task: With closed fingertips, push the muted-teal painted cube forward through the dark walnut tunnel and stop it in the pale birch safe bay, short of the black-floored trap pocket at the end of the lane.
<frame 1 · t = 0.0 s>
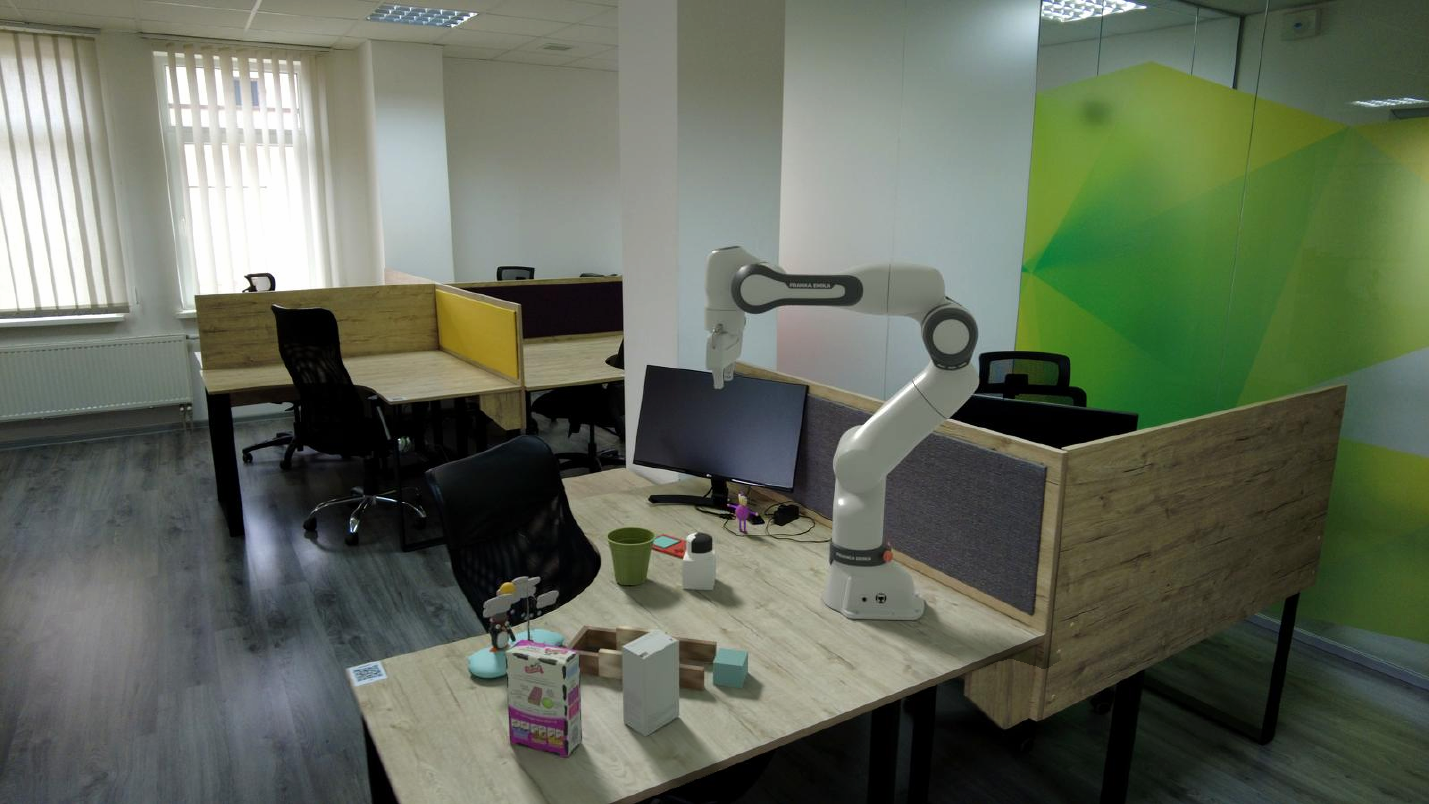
hand: (723, 384, 188), 48 cm above the table, fingers open, 8 cm apart
candy bar box: (546, 743, 139), on the table
penguin figurine: (516, 659, 165), on the table
skincare box: (651, 722, 145), on the table
plant pot: (631, 580, 201), on the table
teal block: (730, 678, 159), on the table
medicine bottle: (699, 584, 199), on the table
handheld gaming console: (673, 549, 221), on the table
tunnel: (638, 665, 163), on the table
wizard figurine: (741, 533, 232), on the table
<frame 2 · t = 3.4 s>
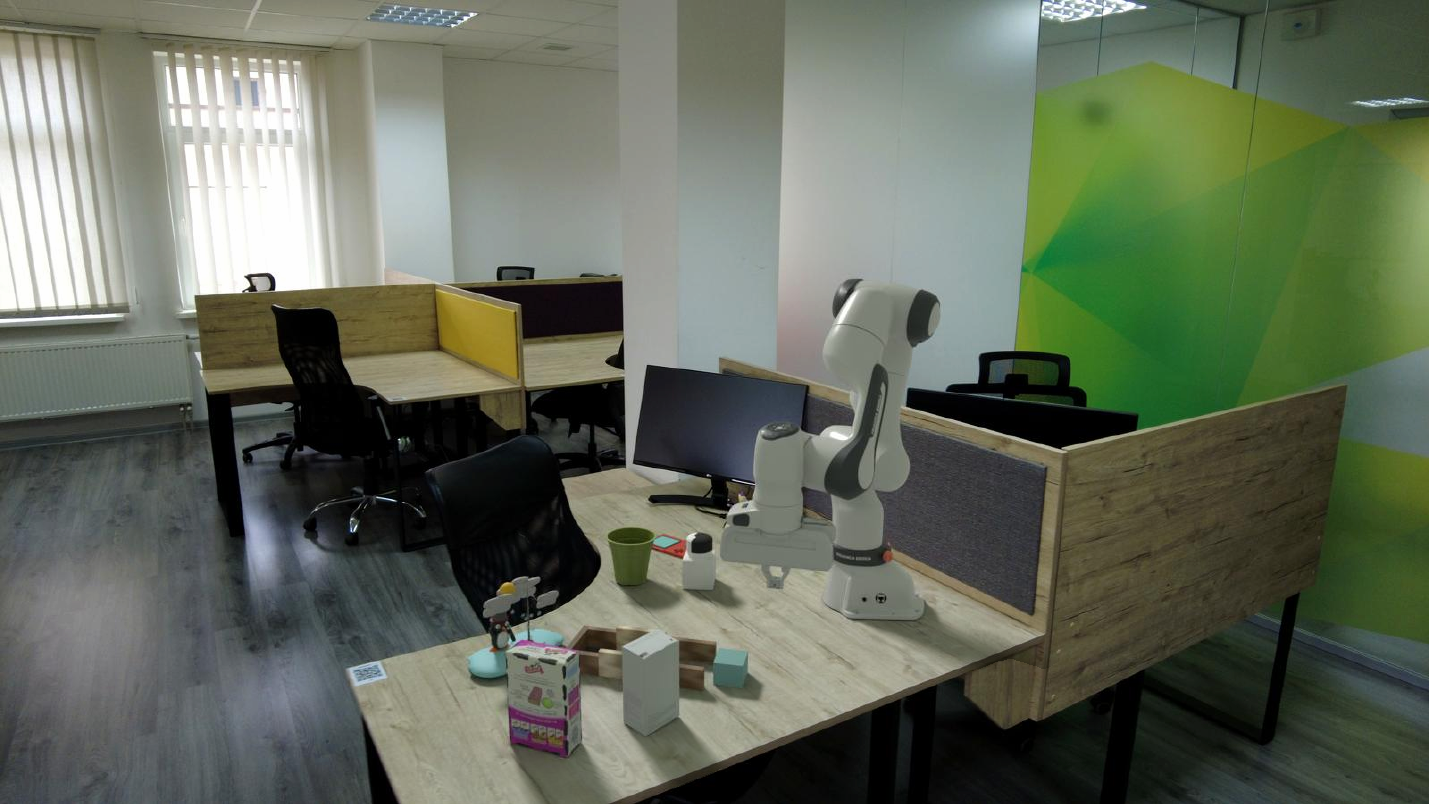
hand: (775, 587, 153), 19 cm above the table, fingers closed
nothing on the table moved.
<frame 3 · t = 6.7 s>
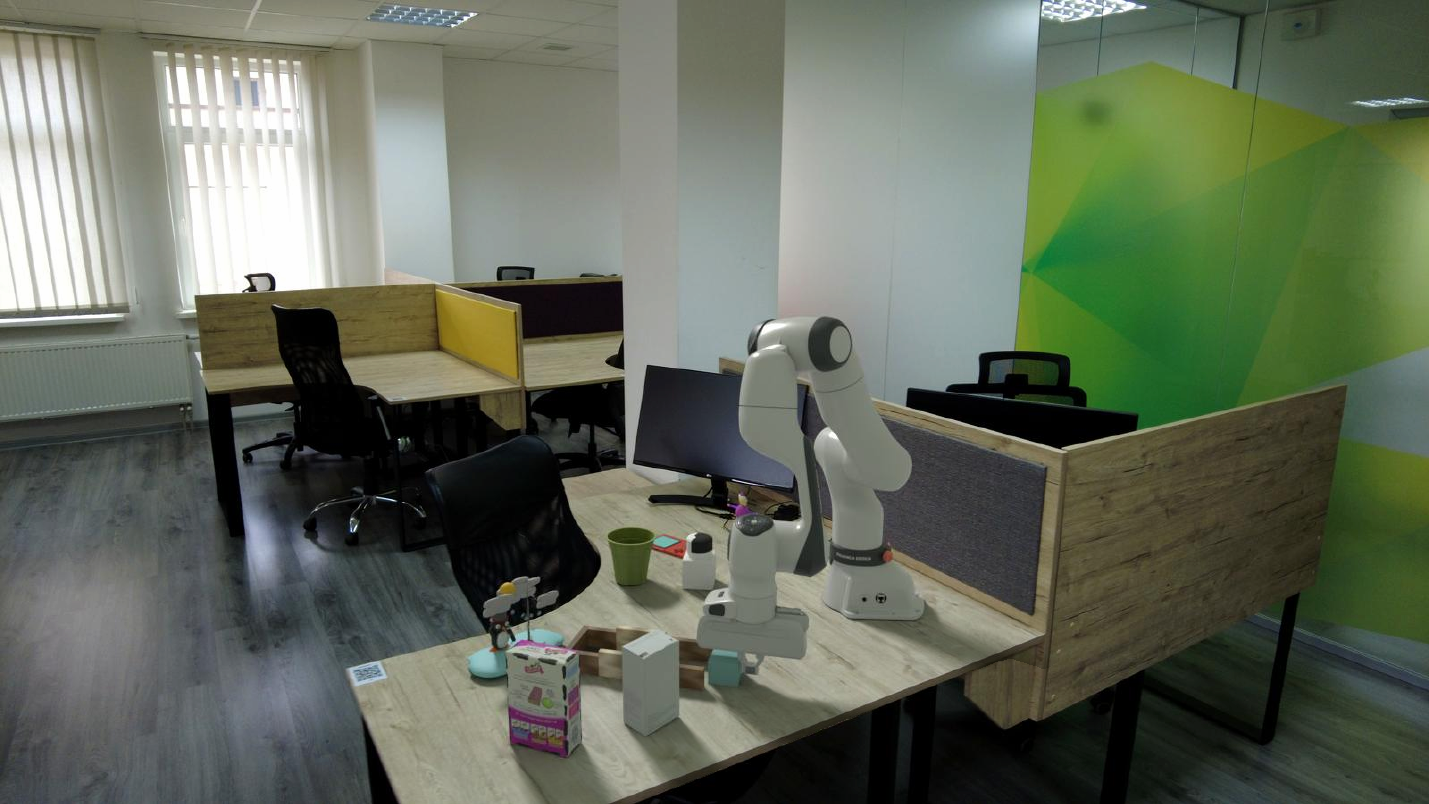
hand: (750, 672, 157), 2 cm above the table, fingers closed
teal block: (725, 677, 159), on the table, touching gripper
everything else where it was.
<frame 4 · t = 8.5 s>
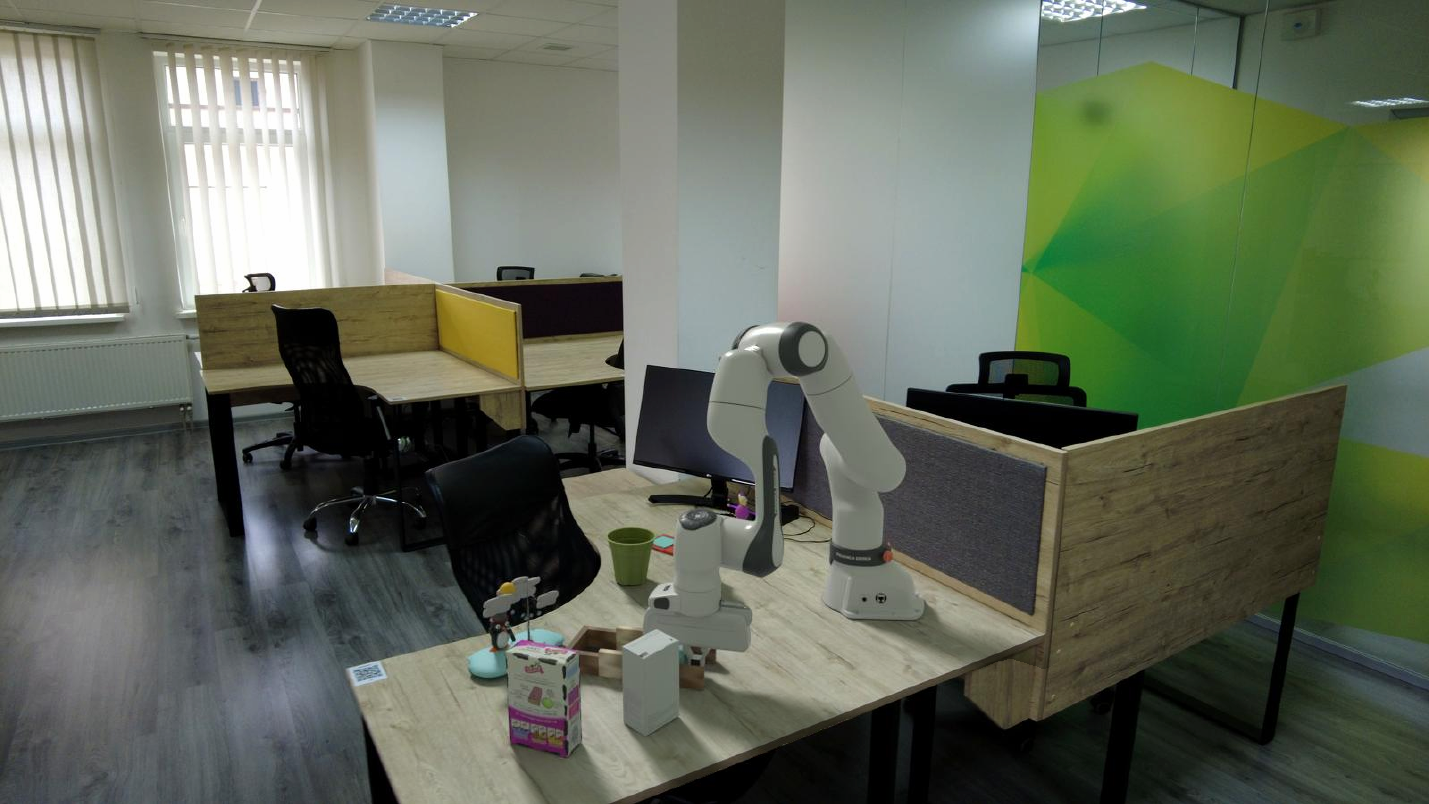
hand: (696, 665, 159), 2 cm above the table, fingers closed
teal block: (672, 670, 161), resting in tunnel, touching gripper
everything else where it was.
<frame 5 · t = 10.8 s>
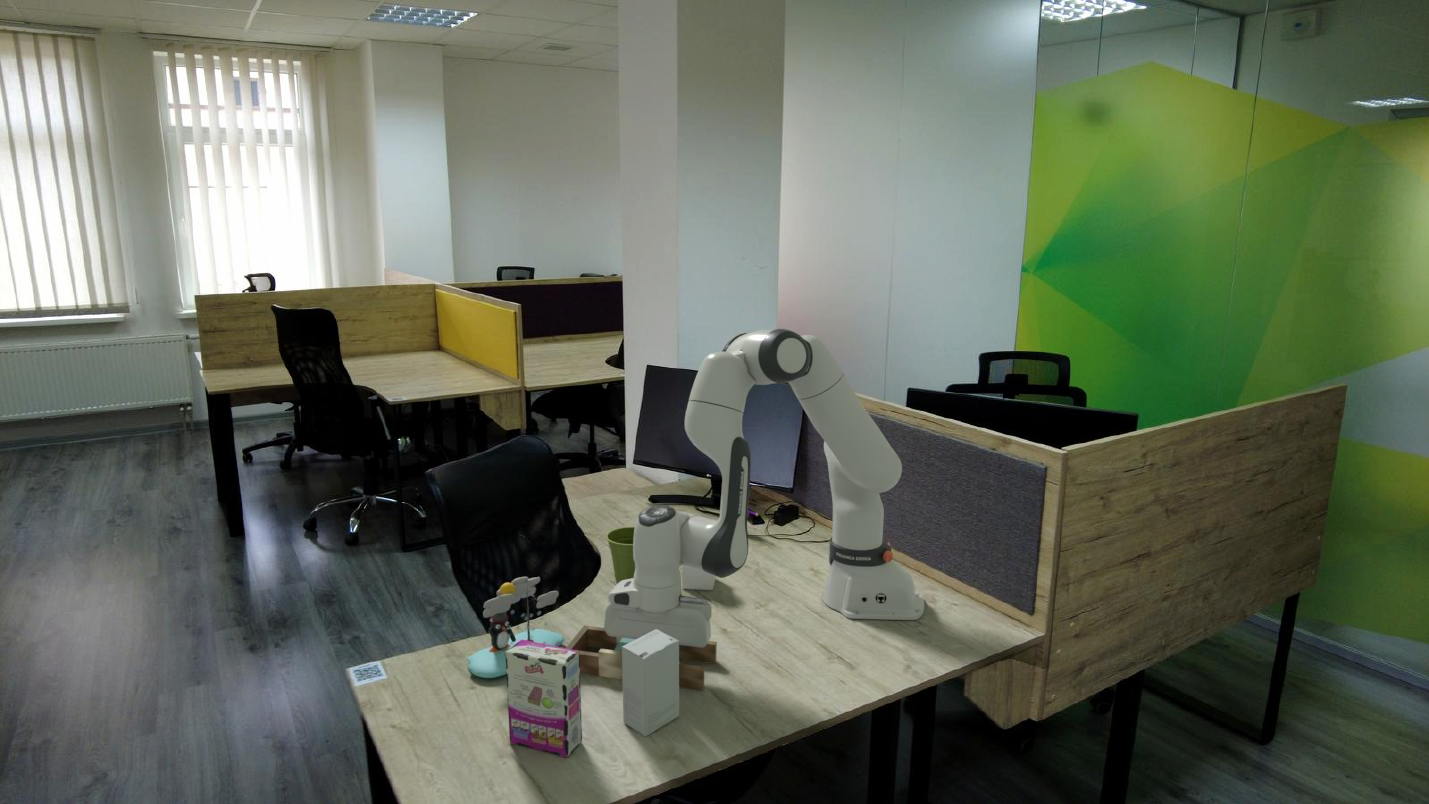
hand: (657, 660, 161), 2 cm above the table, fingers closed
teal block: (633, 665, 163), resting in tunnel, touching gripper
everything else where it was.
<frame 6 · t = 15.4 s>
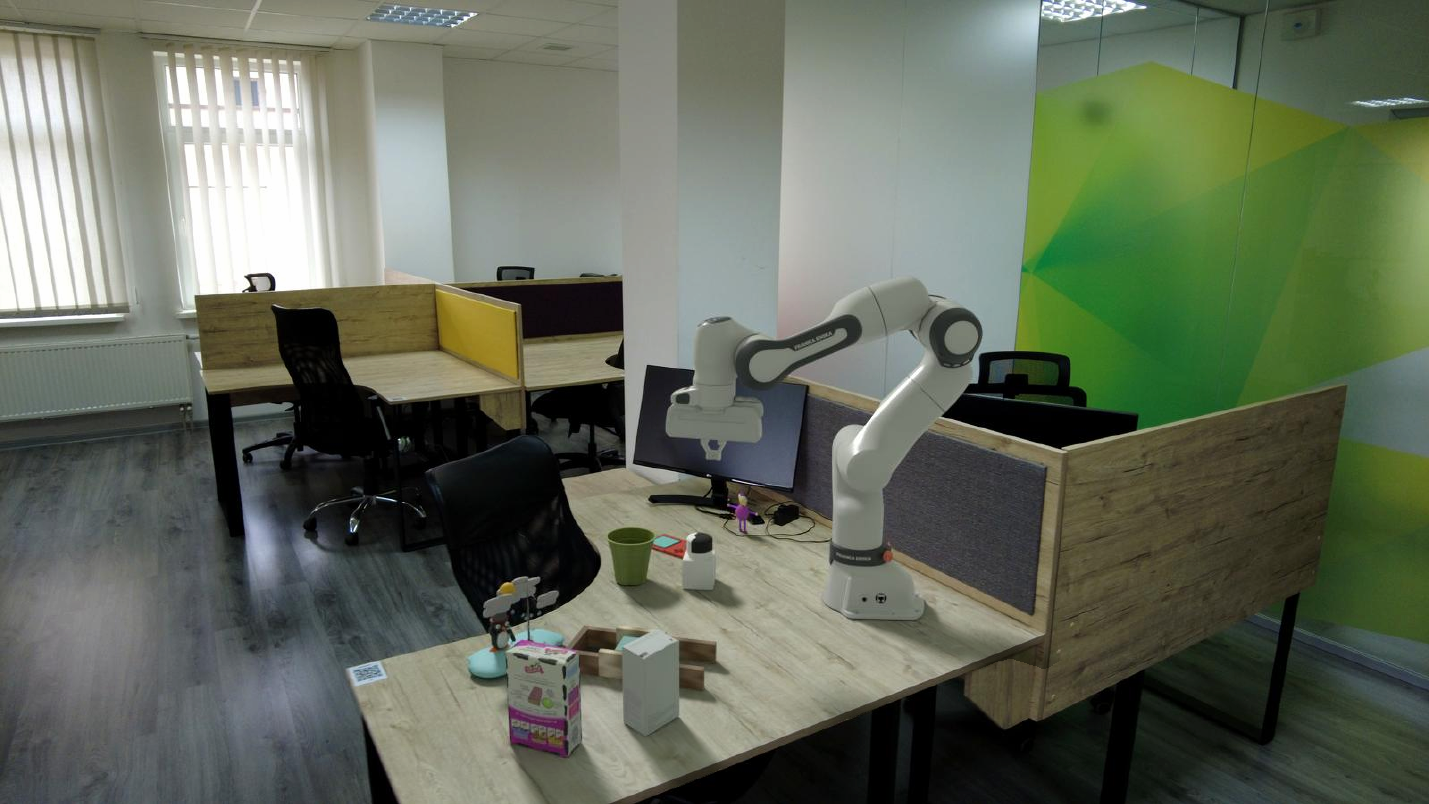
hand: (713, 459, 179), 34 cm above the table, fingers closed
teal block: (633, 665, 163), resting in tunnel
everything else where it was.
at the end: teal block inside the target area (0.1 cm from its centre), resting in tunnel; teal block tilted 0°; the gripper is holding nothing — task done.
